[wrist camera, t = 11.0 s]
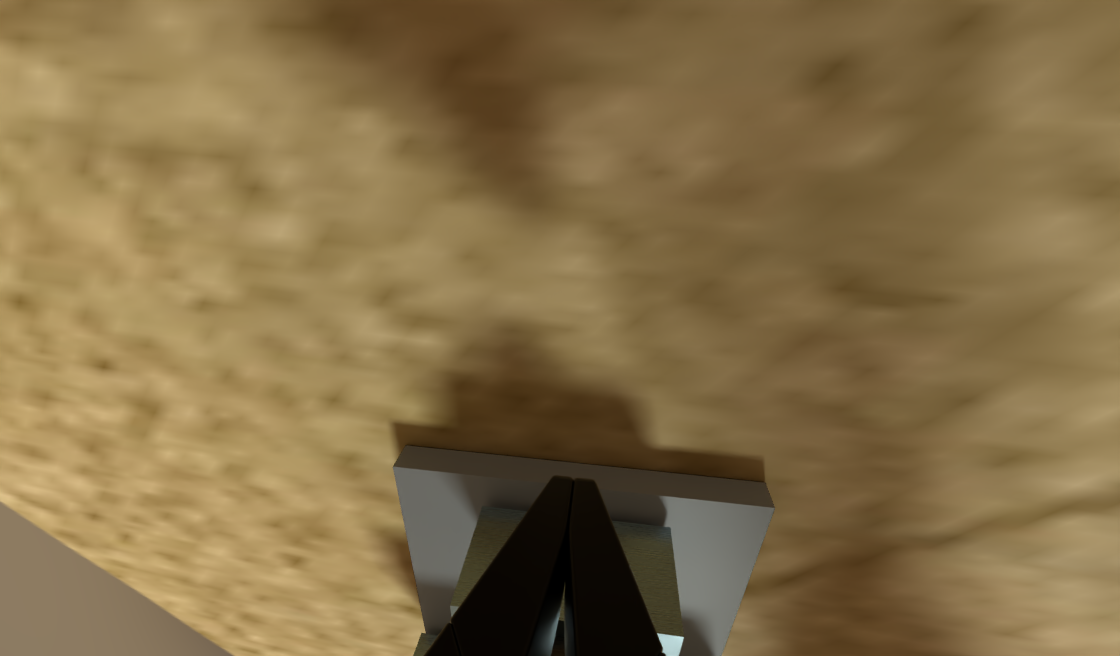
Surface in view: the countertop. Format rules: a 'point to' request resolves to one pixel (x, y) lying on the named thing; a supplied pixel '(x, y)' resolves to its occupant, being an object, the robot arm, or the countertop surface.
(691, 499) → the vise bed
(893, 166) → the countertop surface
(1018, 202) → the countertop surface
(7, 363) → the countertop surface
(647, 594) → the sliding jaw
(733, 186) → the countertop surface
